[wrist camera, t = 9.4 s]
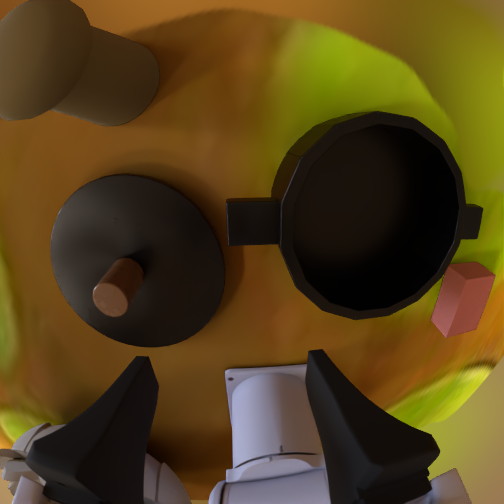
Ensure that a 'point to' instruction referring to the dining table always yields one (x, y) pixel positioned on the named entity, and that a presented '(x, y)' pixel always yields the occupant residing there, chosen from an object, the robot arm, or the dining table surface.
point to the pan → (362, 213)
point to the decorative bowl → (14, 466)
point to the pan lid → (138, 260)
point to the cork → (71, 66)
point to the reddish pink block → (462, 298)
